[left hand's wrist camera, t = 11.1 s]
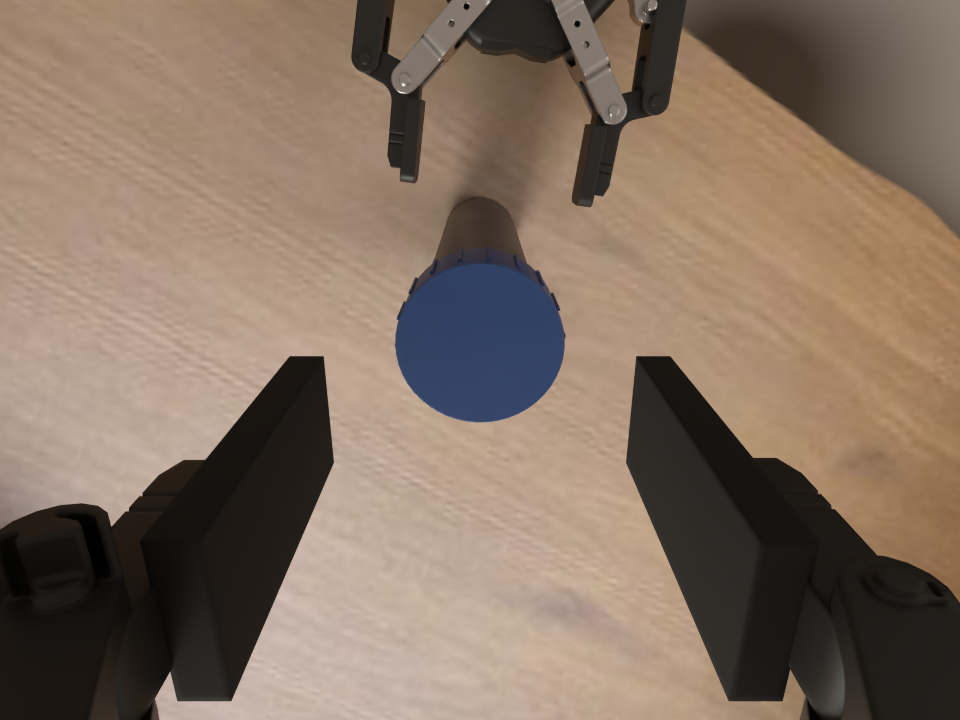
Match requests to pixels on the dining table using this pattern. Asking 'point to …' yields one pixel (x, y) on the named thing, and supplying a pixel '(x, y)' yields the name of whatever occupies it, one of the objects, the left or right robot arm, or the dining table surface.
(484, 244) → the jar
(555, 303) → the lid
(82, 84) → the dining table surface
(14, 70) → the dining table surface
